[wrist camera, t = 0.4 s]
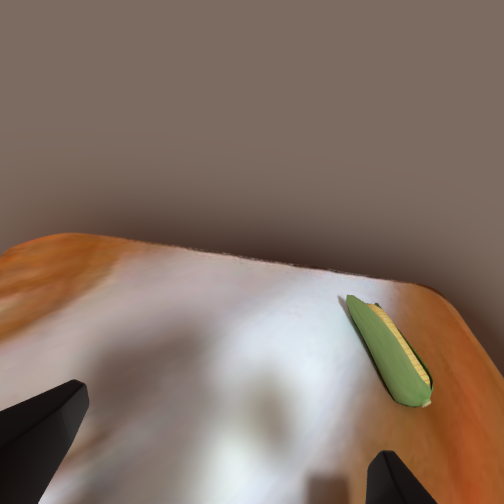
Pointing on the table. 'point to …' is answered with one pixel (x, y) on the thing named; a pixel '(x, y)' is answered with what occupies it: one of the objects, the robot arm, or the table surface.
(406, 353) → the edible corn
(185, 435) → the table surface
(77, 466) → the table surface
